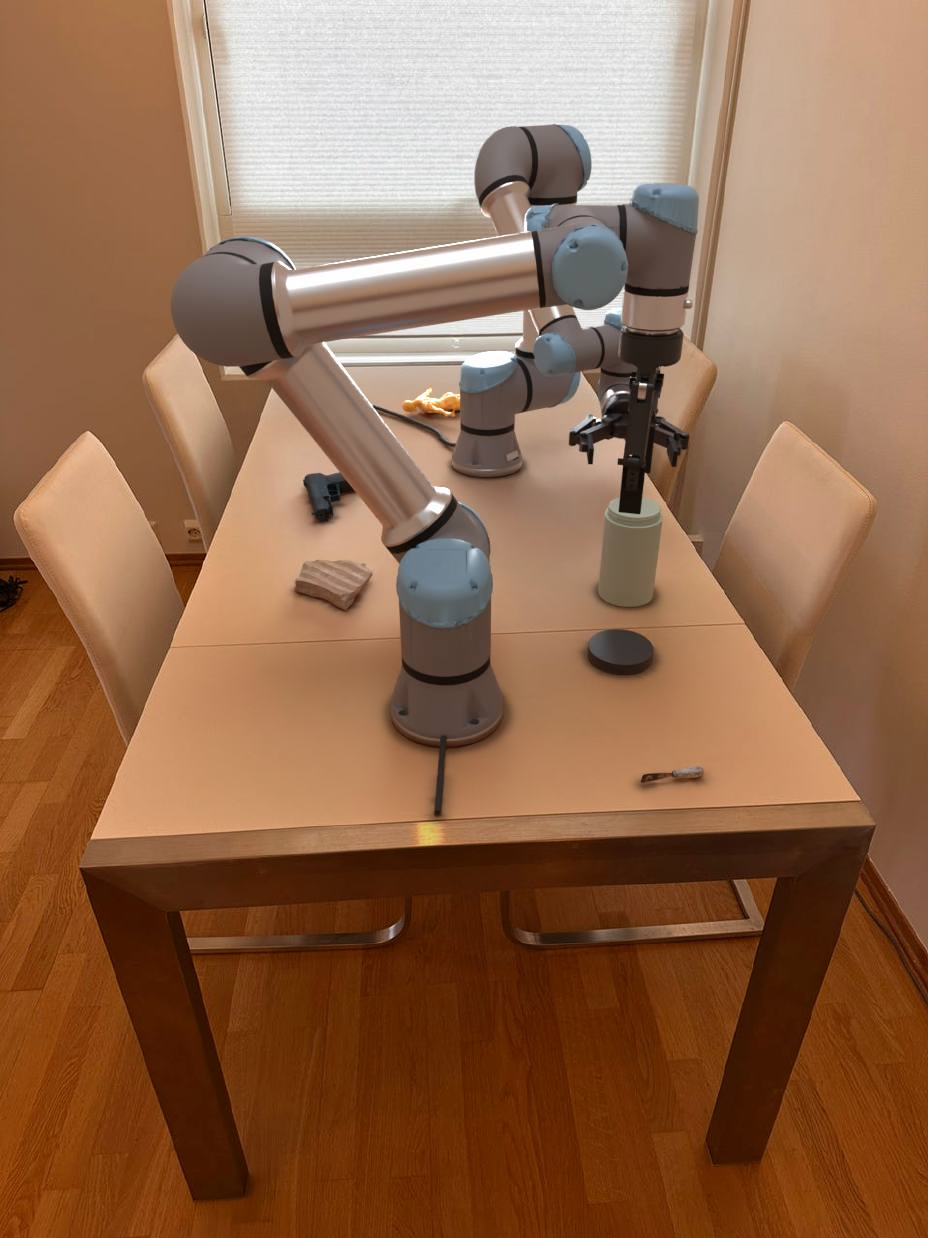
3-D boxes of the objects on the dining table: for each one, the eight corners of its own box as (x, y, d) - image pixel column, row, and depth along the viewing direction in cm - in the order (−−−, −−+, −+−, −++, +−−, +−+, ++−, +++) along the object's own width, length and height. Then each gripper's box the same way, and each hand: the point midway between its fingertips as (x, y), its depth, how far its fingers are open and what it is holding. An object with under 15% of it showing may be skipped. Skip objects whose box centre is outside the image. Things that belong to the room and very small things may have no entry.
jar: (607, 609, 144) (615, 521, 135) (591, 582, 151) (598, 496, 143) (661, 604, 145) (672, 516, 136) (642, 577, 152) (652, 492, 144)
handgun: (374, 516, 173) (312, 524, 171) (359, 480, 188) (302, 487, 185) (373, 501, 172) (311, 508, 169) (358, 466, 186) (300, 472, 183)
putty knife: (703, 777, 109) (705, 767, 109) (642, 788, 108) (644, 777, 107) (700, 772, 110) (702, 762, 109) (639, 782, 109) (640, 771, 108)
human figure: (395, 413, 223) (394, 398, 221) (438, 390, 237) (438, 375, 235) (462, 429, 215) (462, 413, 213) (502, 404, 229) (503, 388, 227)
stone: (382, 577, 152) (381, 564, 151) (347, 611, 143) (346, 598, 142) (316, 564, 157) (314, 551, 155) (279, 596, 147) (277, 583, 146)
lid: (643, 637, 137) (644, 627, 136) (659, 673, 128) (661, 663, 128) (582, 640, 136) (582, 630, 135) (594, 676, 128) (595, 666, 127)
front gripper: (677, 357, 96) (655, 535, 107) (690, 305, 116) (670, 459, 128) (607, 353, 98) (593, 528, 109) (632, 302, 118) (618, 454, 129)
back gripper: (688, 433, 165) (706, 481, 147) (552, 429, 166) (554, 476, 148) (694, 394, 161) (713, 438, 143) (555, 390, 162) (557, 433, 144)
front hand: (635, 491), depth 118 cm, fingers open, 13 cm apart
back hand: (632, 457), depth 145 cm, fingers open, 13 cm apart
